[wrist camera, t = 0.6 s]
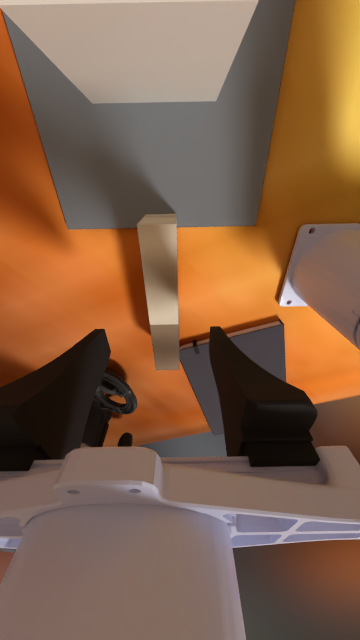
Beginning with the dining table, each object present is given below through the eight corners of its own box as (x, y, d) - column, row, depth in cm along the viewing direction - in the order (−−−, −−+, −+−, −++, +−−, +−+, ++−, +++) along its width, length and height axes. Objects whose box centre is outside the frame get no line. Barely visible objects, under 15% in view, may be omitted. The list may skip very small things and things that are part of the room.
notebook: (283, 414, 34) (278, 316, 23) (287, 423, 33) (284, 323, 22) (212, 427, 36) (176, 342, 25) (213, 436, 35) (176, 351, 24)
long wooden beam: (179, 341, 24) (179, 369, 21) (159, 341, 24) (155, 370, 21) (176, 213, 16) (176, 224, 13) (145, 214, 16) (136, 224, 12)
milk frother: (59, 424, 34) (-7, 556, 22) (30, 358, 26) (-107, 513, 13) (142, 426, 35) (122, 555, 23) (140, 364, 27) (107, 515, 14)
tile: (216, 101, 13) (258, -1, 6) (92, 103, 13) (-3, 5, 6) (217, 65, 12) (270, -99, 5) (85, 68, 12) (-32, -92, 5)
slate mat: (342, -301, 7) (354, -337, 7) (253, 224, 17) (255, 225, 17) (-81, -293, 7) (-100, -329, 7) (71, 228, 17) (68, 229, 17)
